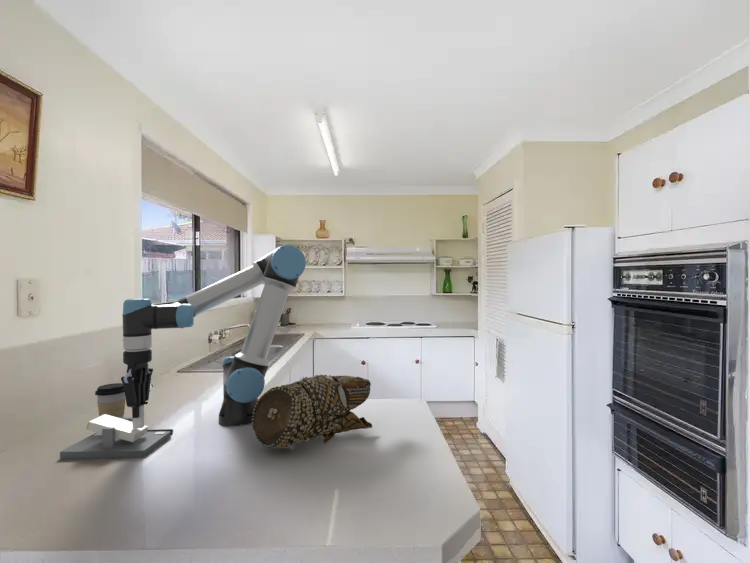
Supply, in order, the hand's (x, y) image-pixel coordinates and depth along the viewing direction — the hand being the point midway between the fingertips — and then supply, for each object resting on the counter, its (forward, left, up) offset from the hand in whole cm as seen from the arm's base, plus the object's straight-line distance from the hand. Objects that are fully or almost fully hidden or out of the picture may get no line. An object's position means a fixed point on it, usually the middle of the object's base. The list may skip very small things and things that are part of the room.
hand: (138, 427), depth 123 cm
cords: (+3, -10, -6) cm, 12 cm away
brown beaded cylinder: (-54, -5, -6) cm, 55 cm away
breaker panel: (+6, 0, -6) cm, 9 cm away
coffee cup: (+18, -16, -6) cm, 25 cm away
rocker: (+7, 0, -1) cm, 7 cm away
